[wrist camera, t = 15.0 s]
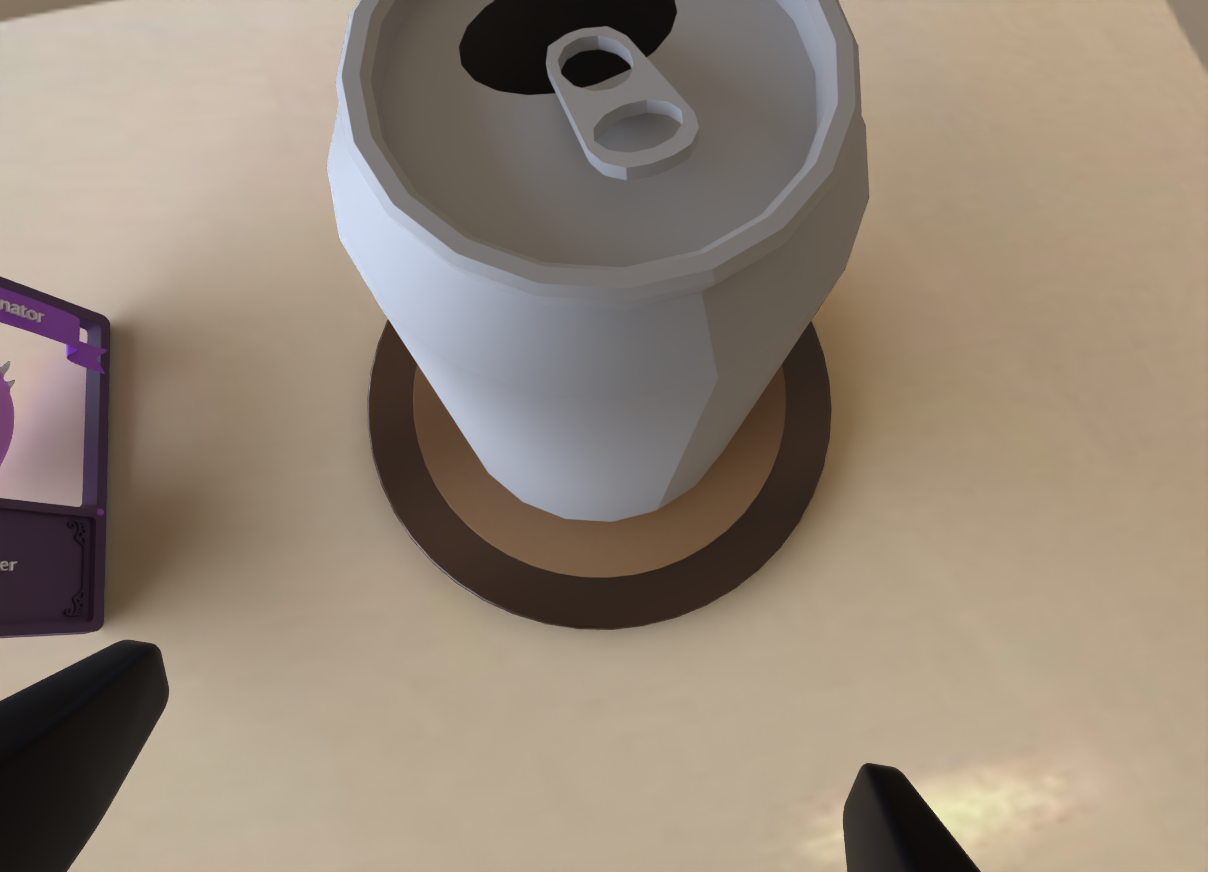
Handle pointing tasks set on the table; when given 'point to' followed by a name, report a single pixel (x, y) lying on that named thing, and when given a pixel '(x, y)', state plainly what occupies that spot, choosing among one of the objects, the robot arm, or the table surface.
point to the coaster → (598, 548)
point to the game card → (48, 531)
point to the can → (599, 220)
